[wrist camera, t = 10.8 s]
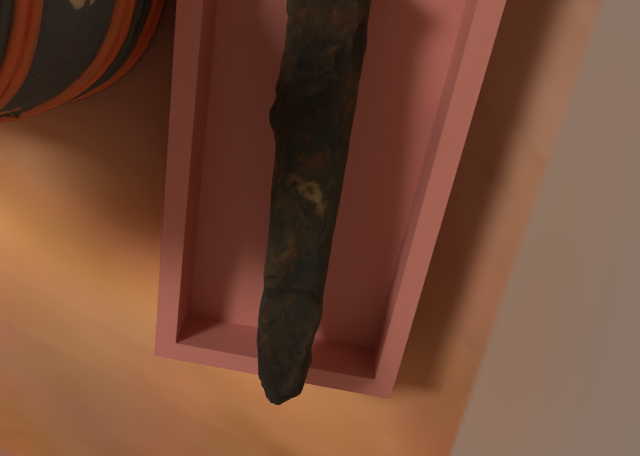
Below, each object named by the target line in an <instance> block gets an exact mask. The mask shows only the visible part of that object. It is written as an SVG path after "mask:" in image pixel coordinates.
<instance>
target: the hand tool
mask: <svg viewBox="0 0 640 456" xmlns="http://www.w3.org/2000/svg"><path fill="white" fill-rule="evenodd" d="M370 5H371V0H287V5H286V9H287V14H288V20H287V25H286V37H285V48H284V50H283V56H282V60H281V64H280V73H279V78H278V80H277V83H276V88H275V91H276V98H275V101H274V103H273V105H272V107H271V109H270V111H269V122H270V125H271V128H272V130H273V133H274V139H275V161H274V170H273V179H272V187H271V204H270V220H269V233H268V243H267V251H266V258H265V265H264V272H263V276H264V289H263V294H262V297H261V302H260V308H259V316H258V330H257V350H258V375H259V379H260V380H261V385H262V387H263V388H264V391H265V394H266V397H267V399H268V400H269V401H270V402H271V403H274V404H276V405H280V404H282V403H284V402H285V401H287V400H289V399H291V398H293V397H296V396H298V395H300V393H301V391H302V389H303V386H304V383H305V380H306V377H307V373H308V369H309V367H310V364H311V362H312V352H311V350H312V349H311V347H312V345H313V342H314V338H315V334H316V332H317V330H318V327H319V325H320V322H321V317H322V312H323V296H324V288H325V284H326V278H327V272H328V265H329V259H330V254H331V248H332V240H333V234H334V230H335V225H336V220H337V214H338V209H339V205H340V199H341V194H342V188H343V181H344V174H345V168H346V164H347V159H348V151H349V143H350V137H351V131H352V125H353V119H354V114H355V109H356V104H357V98H358V88H359V81H360V77H361V72H362V66H363V60H364V55H365V51H366V46H367V30H368V19H369V12H370Z"/></svg>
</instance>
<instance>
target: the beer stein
mask: <svg viewBox="0 0 640 456" xmlns="http://www.w3.org/2000/svg"><path fill="white" fill-rule="evenodd" d="M164 3H165V0H0V122H9V121H14V120H19V119H23V118H26V117H29V116H32V115H35V114H38V113H41V112H44V111H47V110H50V109H53V108H56V107H58V106H61V105H64V104H68V103H72V102H75V101H78V100H81V99H83V98H86V97H88V96H91V95H93V94H94V93H97V92H99V91H100V90H102V89H104V88H106V87H107V86H109V85H111V84H112V83H114V82H115V81H116V80H118V79H119V78H120V77H121V76H123V75H124V74H125V73H126V72H127V71H128V70H129V69H130V68H132V67H133V66H134V64H135V63H136V62H137V60H138V59H139V58H140V57H141V55H142V54H143V52H144V51H145V49H146V47H147V46H148V44H149V42H150V40H151V38H152V36H153V34H154V32H155V29H156V27H157V24H158V22H159V19H160V16H161V13H162V10H163V7H164Z"/></svg>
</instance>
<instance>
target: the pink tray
mask: <svg viewBox="0 0 640 456" xmlns="http://www.w3.org/2000/svg"><path fill="white" fill-rule="evenodd" d="M505 4H506V0H371V5H370V12H369V19H368V30H367V46H366V51H365V55H364V60H363V66H362V72H361V77H360V81H359V88H358V98H357V104H356V109H355V114H354V119H353V125H352V131H351V137H350V143H349V151H348V159H347V164H346V168H345V174H344V181H343V188H342V194H341V199H340V205H339V209H338V214H337V220H336V225H335V230H334V234H333V240H332V248H331V254H330V259H329V265H328V272H327V278H326V284H325V288H324V296H323V312H322V317H321V322H320V325H319V327H318V330H317V332H316V334H315V338H314V342H313V345H312V347H311V349H312V350H311V352H312V362H311V364H310V367H309V369H308V373H307V377H306V380H305V383H307V384H312V385H318V386H323V387H329V388H334V389H340V390H345V391H351V392H356V393H361V394H367V395H372V396H378V397H383V398H389V399H390V398H391V394H392V391H393V388H394V384H395V381H396V377H397V374H398V370H399V367H400V364H401V360H402V357H403V353H404V350H405V346H406V343H407V340H408V336H409V333H410V329H411V326H412V322H413V319H414V316H415V312H416V309H417V305H418V302H419V298H420V295H421V292H422V288H423V285H424V281H425V278H426V274H427V271H428V268H429V264H430V261H431V257H432V254H433V250H434V247H435V244H436V240H437V237H438V233H439V230H440V226H441V223H442V220H443V216H444V213H445V209H446V206H447V202H448V199H449V196H450V192H451V189H452V185H453V182H454V179H455V175H456V172H457V168H458V165H459V161H460V158H461V155H462V151H463V148H464V144H465V141H466V137H467V134H468V131H469V127H470V124H471V120H472V117H473V113H474V110H475V107H476V103H477V100H478V96H479V93H480V89H481V86H482V83H483V79H484V76H485V72H486V69H487V65H488V62H489V59H490V55H491V52H492V48H493V45H494V41H495V38H496V35H497V31H498V28H499V24H500V21H501V17H502V14H503V11H504V7H505ZM286 5H287V0H177V3H176V19H175V35H174V52H173V68H172V84H171V100H170V116H169V132H168V148H167V164H166V180H165V196H164V212H163V228H162V244H161V261H160V277H159V293H158V309H157V325H156V341H155V356H159V357H165V358H170V359H176V360H181V361H187V362H192V363H197V364H203V365H208V366H214V367H219V368H225V369H230V370H236V371H241V372H247V373H252V374H258V350H257V330H258V316H259V308H260V302H261V297H262V294H263V289H264V276H263V272H264V265H265V258H266V251H267V243H268V233H269V220H270V204H271V187H272V179H273V170H274V161H275V139H274V133H273V130H272V128H271V125H270V122H269V111H270V109H271V107H272V105H273V103H274V101H275V98H276V91H275V88H276V83H277V80H278V78H279V73H280V64H281V60H282V56H283V50H284V48H285V37H286V25H287V20H288V14H287V9H286Z"/></svg>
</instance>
